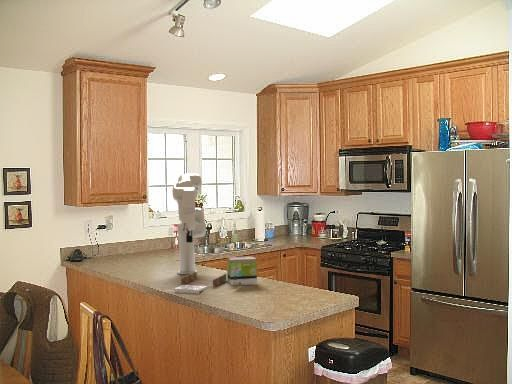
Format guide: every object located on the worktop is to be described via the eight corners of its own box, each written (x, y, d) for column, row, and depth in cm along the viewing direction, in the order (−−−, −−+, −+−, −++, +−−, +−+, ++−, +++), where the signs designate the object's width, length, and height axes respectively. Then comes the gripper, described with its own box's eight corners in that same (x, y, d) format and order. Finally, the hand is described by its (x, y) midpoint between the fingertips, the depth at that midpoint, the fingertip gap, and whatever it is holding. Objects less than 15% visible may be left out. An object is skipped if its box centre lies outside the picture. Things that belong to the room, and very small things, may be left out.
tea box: (231, 286, 299) (230, 259, 298) (227, 283, 308) (226, 257, 308) (257, 284, 303) (257, 258, 302) (252, 281, 312) (252, 255, 312)
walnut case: (194, 280, 316) (194, 272, 316) (226, 282, 310) (226, 273, 310) (181, 286, 300) (181, 277, 300) (214, 288, 294) (214, 279, 294)
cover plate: (183, 289, 296) (183, 284, 296) (206, 290, 292) (206, 286, 292) (174, 293, 287) (174, 288, 287) (199, 294, 282) (199, 290, 282)
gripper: (188, 208, 320) (188, 239, 322) (177, 212, 306) (177, 244, 308) (200, 209, 318) (200, 240, 320) (189, 212, 304) (190, 244, 305)
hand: (189, 242), depth 314 cm, fingers closed
